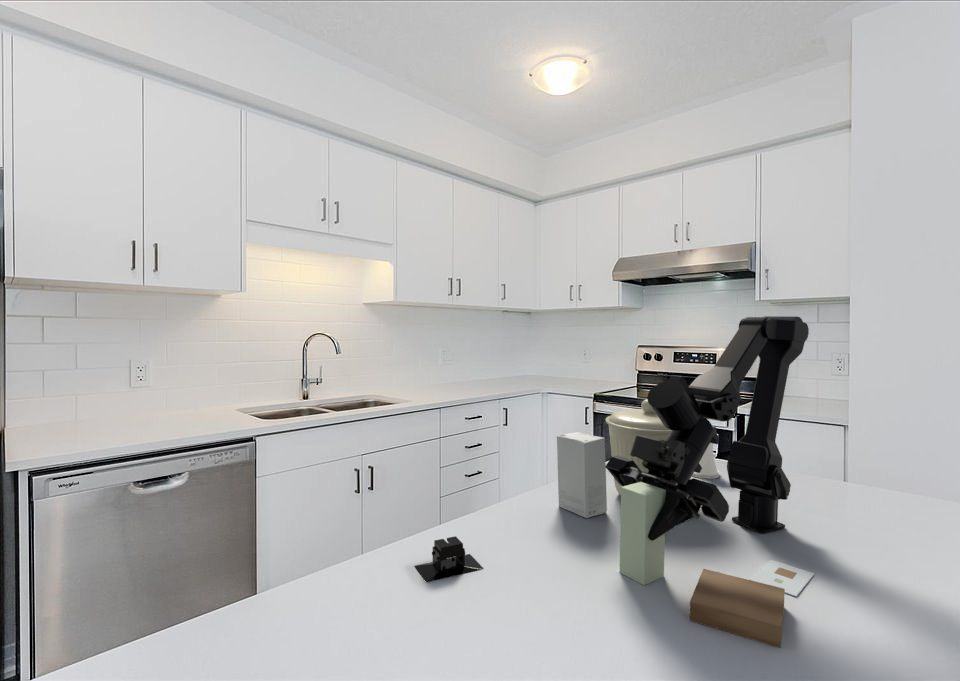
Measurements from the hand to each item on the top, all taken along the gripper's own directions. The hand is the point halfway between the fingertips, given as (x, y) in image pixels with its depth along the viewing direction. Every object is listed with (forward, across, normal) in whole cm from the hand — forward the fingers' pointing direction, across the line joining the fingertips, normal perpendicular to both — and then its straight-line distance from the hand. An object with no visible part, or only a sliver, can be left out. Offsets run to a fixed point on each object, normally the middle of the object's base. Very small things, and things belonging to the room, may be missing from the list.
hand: (636, 533), depth 76 cm
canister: (-16, -21, +25) cm, 36 cm away
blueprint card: (-8, +12, +17) cm, 23 cm away
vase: (-33, -24, +43) cm, 59 cm away
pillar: (+4, 0, +6) cm, 7 cm away
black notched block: (+21, -18, -10) cm, 29 cm away
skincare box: (-4, -24, +13) cm, 27 cm away
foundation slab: (+2, +14, +7) cm, 16 cm away
